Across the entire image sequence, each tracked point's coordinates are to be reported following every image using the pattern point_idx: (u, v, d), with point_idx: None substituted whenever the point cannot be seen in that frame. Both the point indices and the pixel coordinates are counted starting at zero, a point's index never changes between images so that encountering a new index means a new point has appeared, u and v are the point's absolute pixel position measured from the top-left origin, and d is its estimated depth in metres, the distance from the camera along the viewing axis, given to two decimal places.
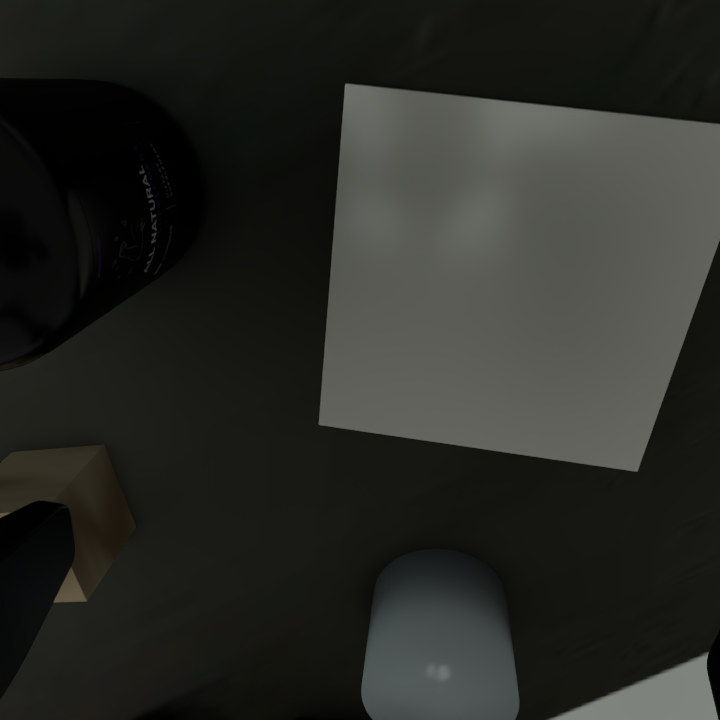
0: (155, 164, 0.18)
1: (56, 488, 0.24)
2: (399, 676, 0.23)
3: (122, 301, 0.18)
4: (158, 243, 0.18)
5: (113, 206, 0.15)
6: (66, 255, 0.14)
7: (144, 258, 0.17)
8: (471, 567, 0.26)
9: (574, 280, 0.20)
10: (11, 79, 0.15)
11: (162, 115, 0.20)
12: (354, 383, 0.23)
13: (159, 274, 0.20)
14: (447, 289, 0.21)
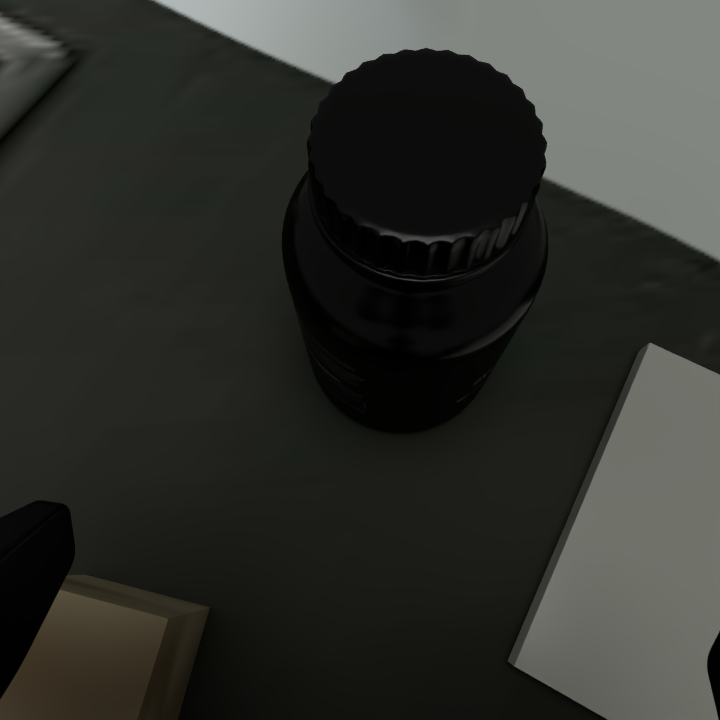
0: None
1: (171, 611, 0.18)
2: None
3: (441, 398, 0.18)
4: (492, 368, 0.19)
5: None
6: (537, 278, 0.15)
7: (492, 365, 0.18)
8: None
9: None
10: None
11: None
12: (575, 624, 0.19)
13: (444, 412, 0.20)
14: (703, 550, 0.20)
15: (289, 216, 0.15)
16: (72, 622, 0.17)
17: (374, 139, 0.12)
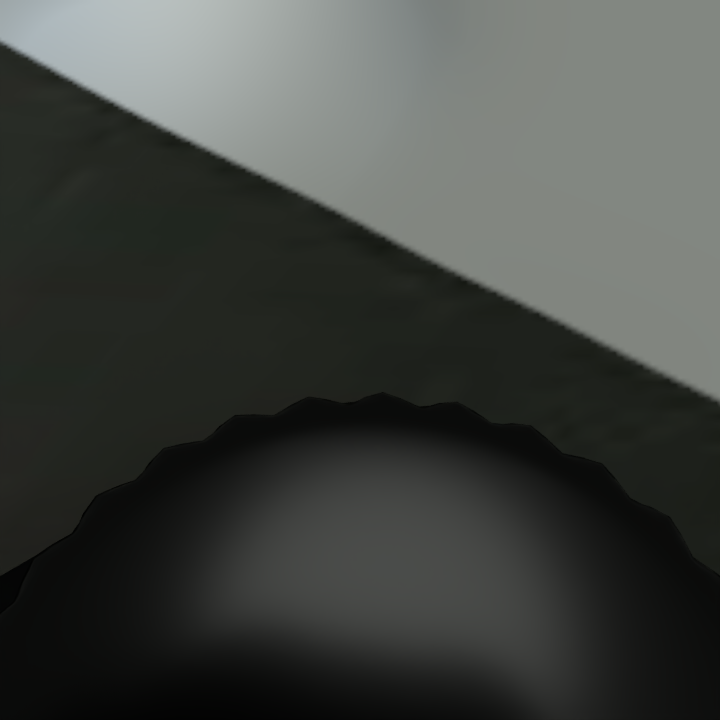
0: None
1: None
2: None
3: None
4: None
5: None
6: None
7: None
8: None
9: None
10: None
11: None
12: None
13: None
14: None
15: None
16: None
17: None
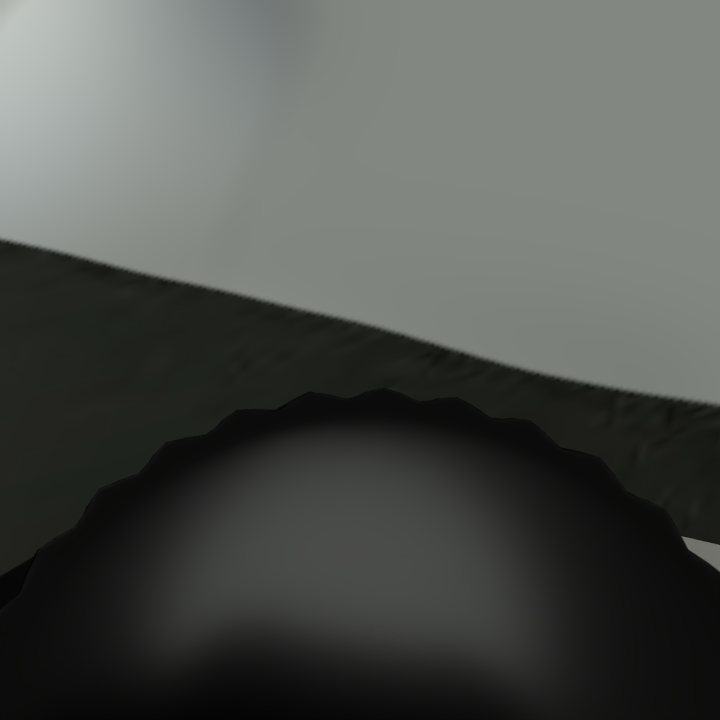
0: None
1: None
2: None
3: None
4: None
5: None
6: None
7: None
8: None
9: None
10: None
11: None
12: None
13: None
14: None
15: None
16: None
17: None
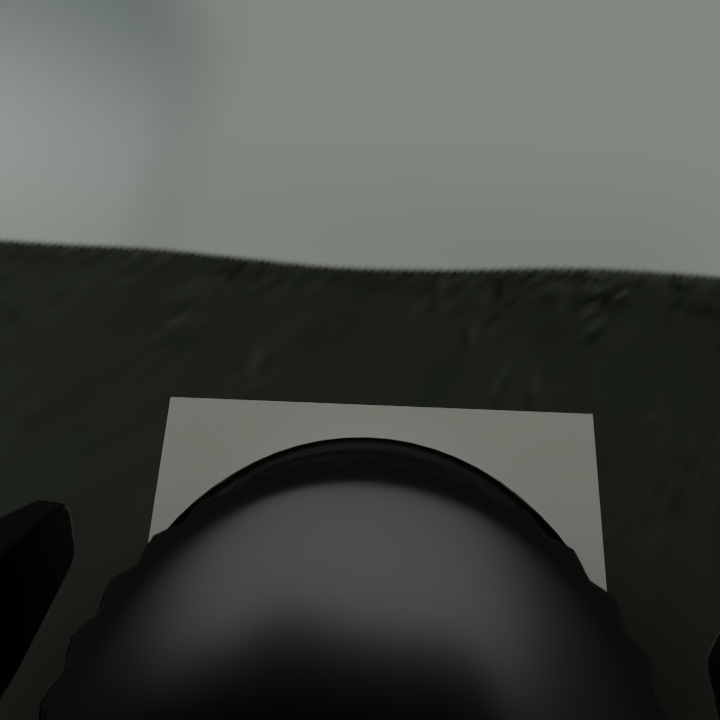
0: None
1: None
2: None
3: None
4: None
5: None
6: None
7: None
8: None
9: None
10: None
11: None
12: None
13: None
14: None
15: None
16: None
17: None
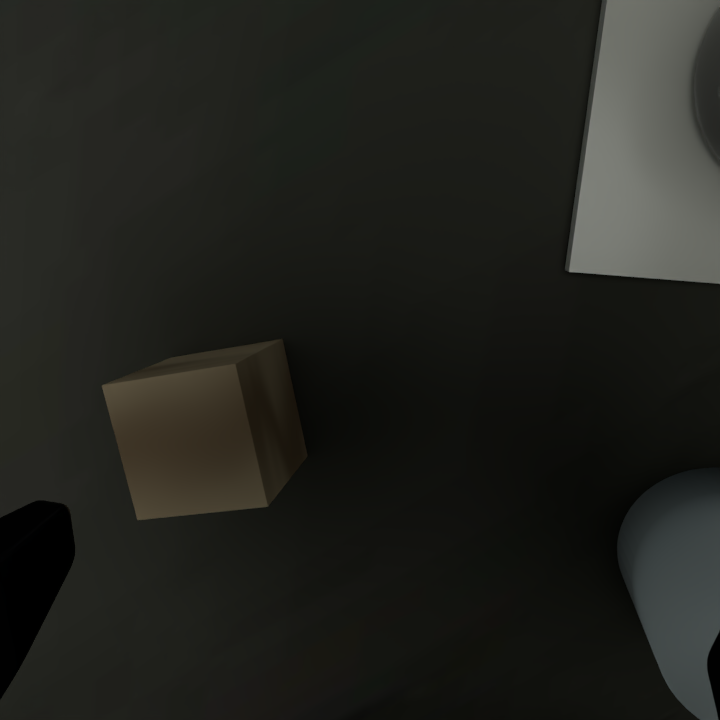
0: None
1: (241, 356, 0.19)
2: (718, 603, 0.16)
3: None
4: None
5: None
6: None
7: None
8: None
9: None
10: None
11: None
12: (620, 207, 0.18)
13: None
14: None
15: None
16: (164, 397, 0.19)
17: None
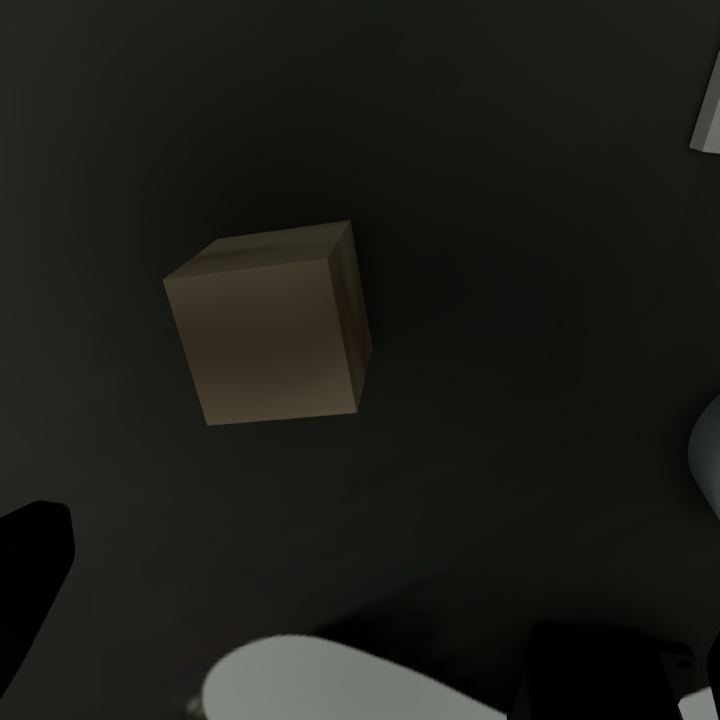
0: None
1: (322, 246, 0.17)
2: None
3: None
4: None
5: None
6: None
7: None
8: None
9: None
10: None
11: None
12: None
13: None
14: None
15: None
16: (239, 295, 0.16)
17: None
